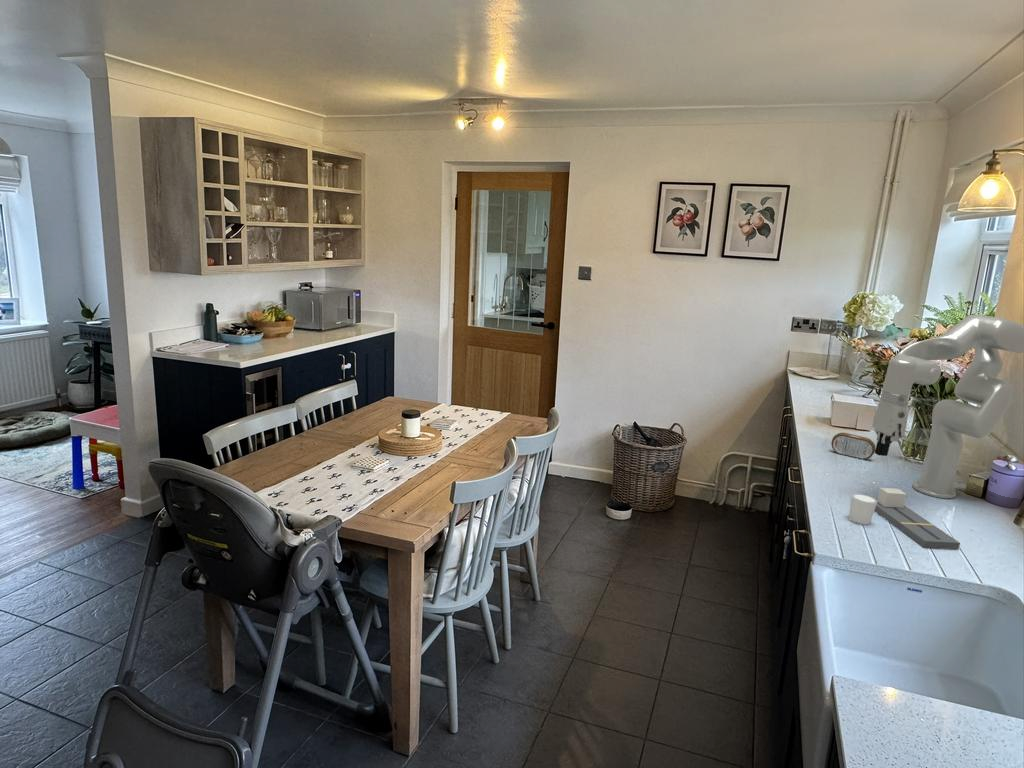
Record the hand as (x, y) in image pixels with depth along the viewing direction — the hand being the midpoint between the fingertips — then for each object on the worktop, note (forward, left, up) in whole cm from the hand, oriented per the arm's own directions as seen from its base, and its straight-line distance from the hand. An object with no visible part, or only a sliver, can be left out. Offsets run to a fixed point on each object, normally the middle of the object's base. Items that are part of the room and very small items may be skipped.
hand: (880, 454), depth 214 cm
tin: (-17, -42, -15) cm, 48 cm away
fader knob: (0, +9, -13) cm, 16 cm away
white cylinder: (+14, +17, -15) cm, 26 cm away
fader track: (0, +19, -15) cm, 24 cm away
